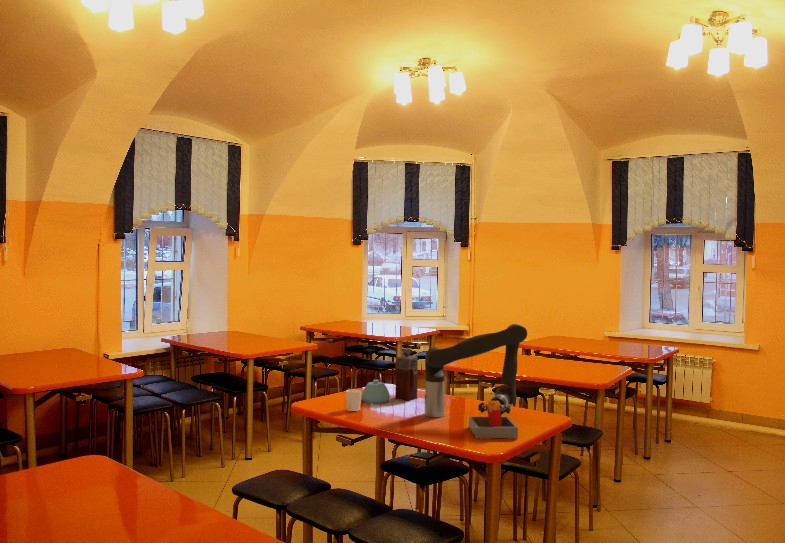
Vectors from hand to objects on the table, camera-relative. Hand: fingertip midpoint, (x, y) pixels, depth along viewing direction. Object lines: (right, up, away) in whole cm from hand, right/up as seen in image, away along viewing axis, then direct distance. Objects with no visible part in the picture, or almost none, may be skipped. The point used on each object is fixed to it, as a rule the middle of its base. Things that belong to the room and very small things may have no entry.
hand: (491, 411), depth 276 cm
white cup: (-64, -8, +38) cm, 75 cm away
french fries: (+2, -9, +1) cm, 9 cm away
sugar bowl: (-53, -8, +59) cm, 79 cm away
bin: (+1, -10, +1) cm, 10 cm away
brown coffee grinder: (-36, -8, +65) cm, 74 cm away
